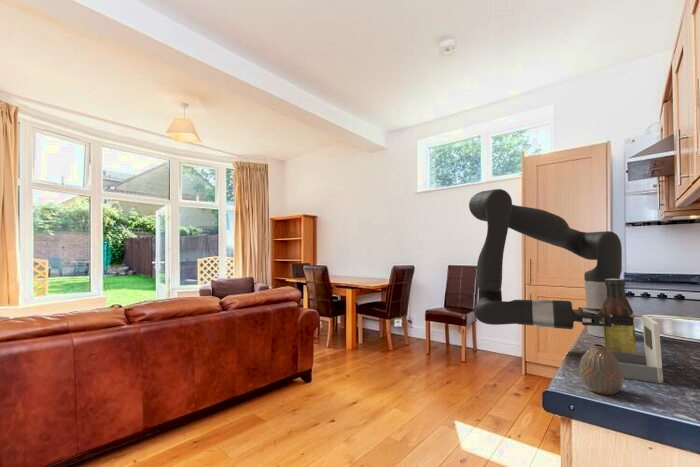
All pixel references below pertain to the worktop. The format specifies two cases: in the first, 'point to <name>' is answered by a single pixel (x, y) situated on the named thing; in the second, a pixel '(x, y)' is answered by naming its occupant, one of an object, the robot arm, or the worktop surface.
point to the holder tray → (644, 356)
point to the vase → (601, 370)
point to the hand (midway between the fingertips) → (629, 318)
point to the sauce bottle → (617, 304)
